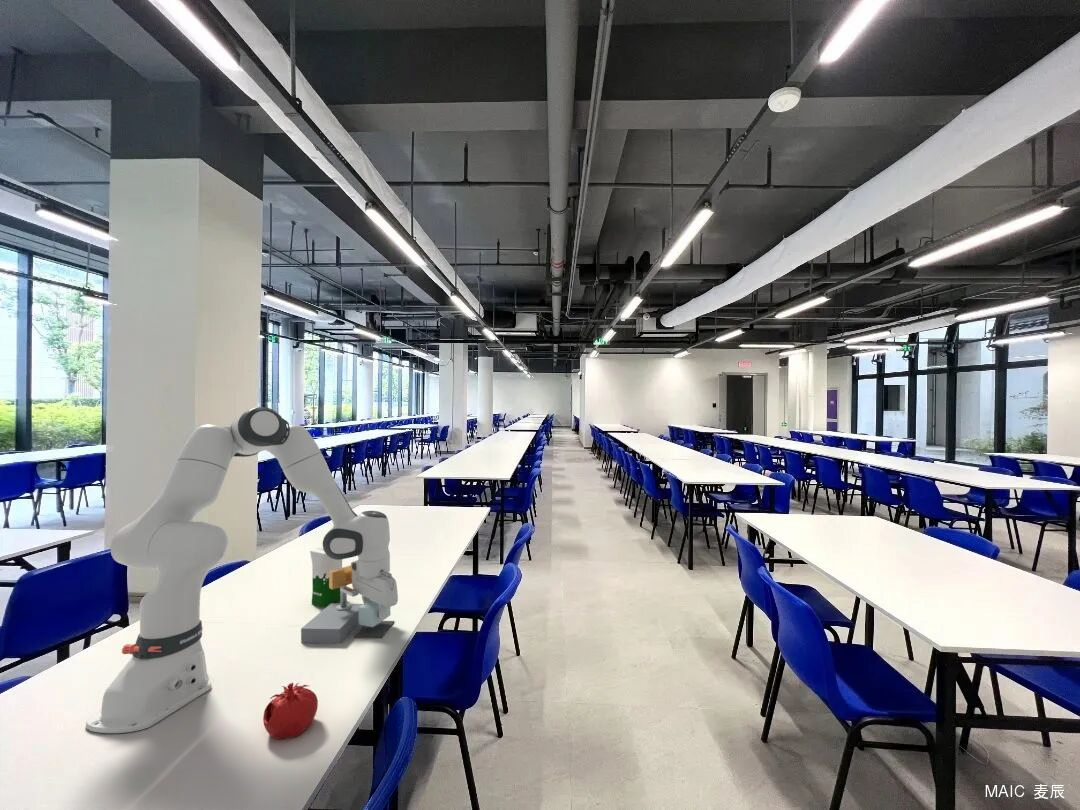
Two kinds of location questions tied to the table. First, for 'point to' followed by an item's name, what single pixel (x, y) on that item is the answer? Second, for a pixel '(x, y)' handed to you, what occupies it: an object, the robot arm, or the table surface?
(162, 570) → the robot arm
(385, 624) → the mat
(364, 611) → the pale blue block
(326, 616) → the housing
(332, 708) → the table surface
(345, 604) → the key
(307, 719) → the pomegranate
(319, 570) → the milk carton
